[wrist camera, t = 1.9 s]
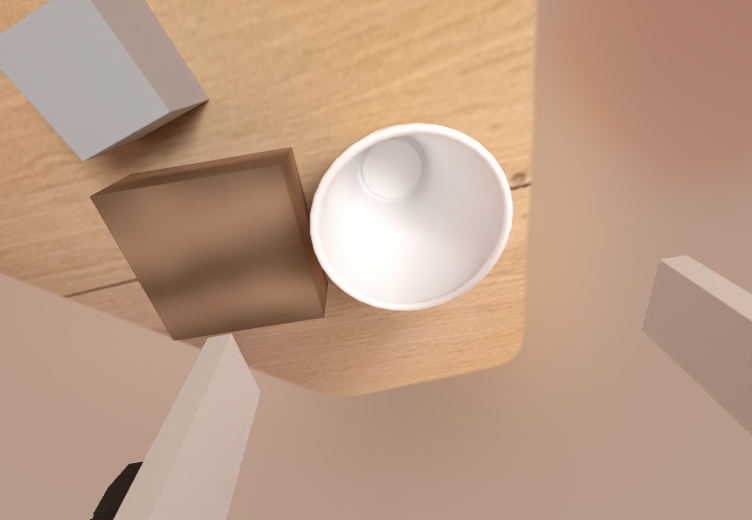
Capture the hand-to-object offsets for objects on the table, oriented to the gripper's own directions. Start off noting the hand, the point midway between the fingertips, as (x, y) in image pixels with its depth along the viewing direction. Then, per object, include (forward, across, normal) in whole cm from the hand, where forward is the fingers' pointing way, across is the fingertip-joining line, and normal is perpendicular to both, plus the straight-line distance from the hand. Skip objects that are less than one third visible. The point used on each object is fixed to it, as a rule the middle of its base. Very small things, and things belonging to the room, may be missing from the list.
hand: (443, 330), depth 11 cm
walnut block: (+18, -13, -3) cm, 23 cm away
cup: (+18, 0, 0) cm, 18 cm away
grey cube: (+18, -15, +9) cm, 25 cm away
